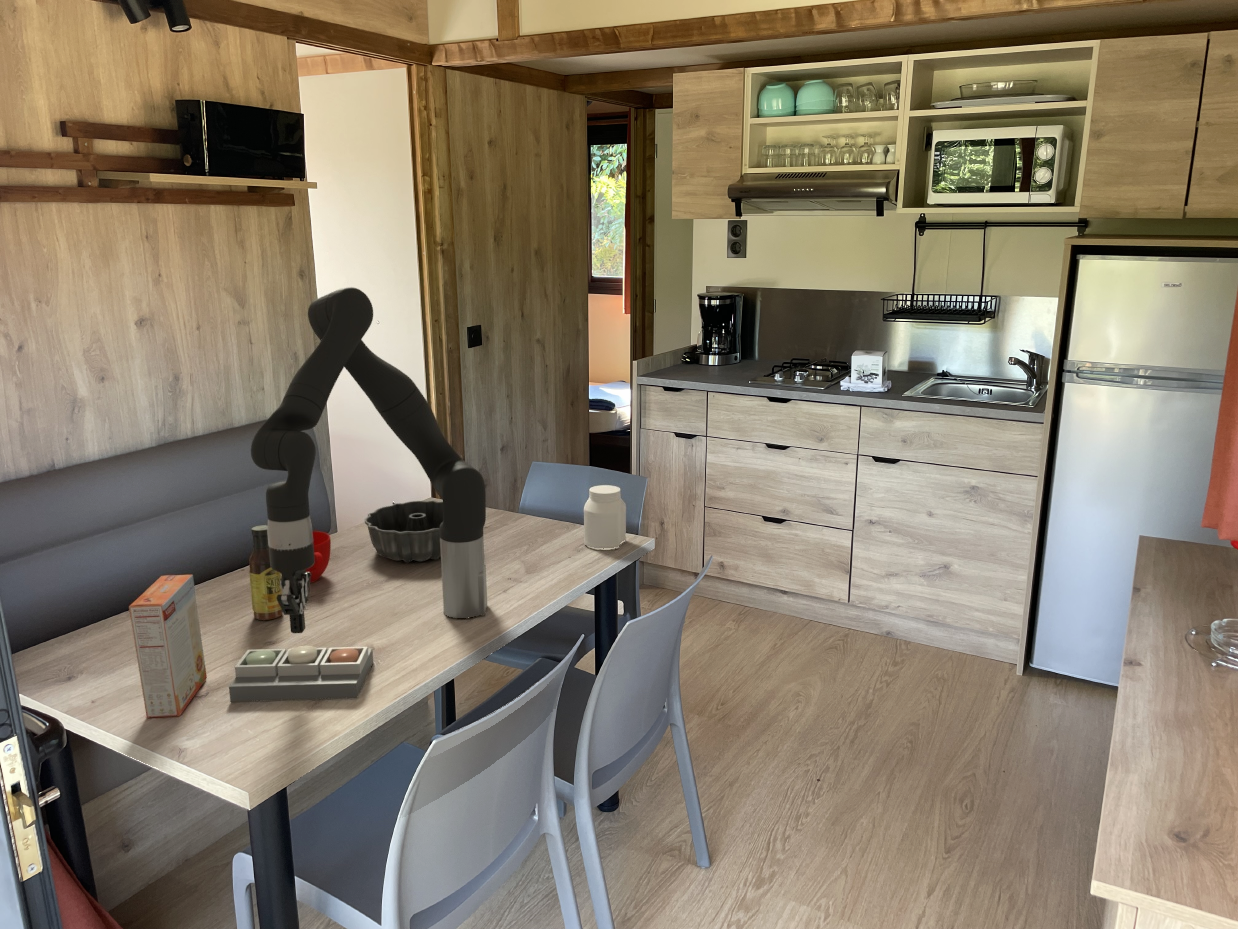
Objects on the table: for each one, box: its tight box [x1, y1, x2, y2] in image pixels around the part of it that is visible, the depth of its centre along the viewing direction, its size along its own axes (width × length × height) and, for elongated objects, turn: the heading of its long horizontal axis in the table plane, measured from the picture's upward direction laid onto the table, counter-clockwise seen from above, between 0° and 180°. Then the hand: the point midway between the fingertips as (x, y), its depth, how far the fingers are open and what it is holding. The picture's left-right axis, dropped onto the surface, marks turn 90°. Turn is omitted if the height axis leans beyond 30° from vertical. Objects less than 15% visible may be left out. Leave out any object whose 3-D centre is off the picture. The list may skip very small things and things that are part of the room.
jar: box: [583, 484, 627, 549], centre depth 241 cm, size 12×10×15 cm
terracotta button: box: [330, 648, 359, 663], centre depth 168 cm, size 5×5×2 cm
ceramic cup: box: [306, 530, 332, 584], centre depth 216 cm, size 13×17×10 cm
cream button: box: [288, 645, 317, 664], centre depth 167 cm, size 5×5×2 cm
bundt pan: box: [364, 499, 443, 563], centre depth 236 cm, size 26×26×10 cm
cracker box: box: [128, 574, 207, 719], centre depth 160 cm, size 14×6×21 cm, turn 5°
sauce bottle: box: [248, 524, 284, 621], centre depth 195 cm, size 7×6×20 cm
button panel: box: [228, 646, 374, 703], centre depth 168 cm, size 22×14×5 cm, turn 93°
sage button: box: [246, 650, 276, 665], centre depth 167 cm, size 5×5×2 cm
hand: (298, 631), depth 166 cm, fingers closed
